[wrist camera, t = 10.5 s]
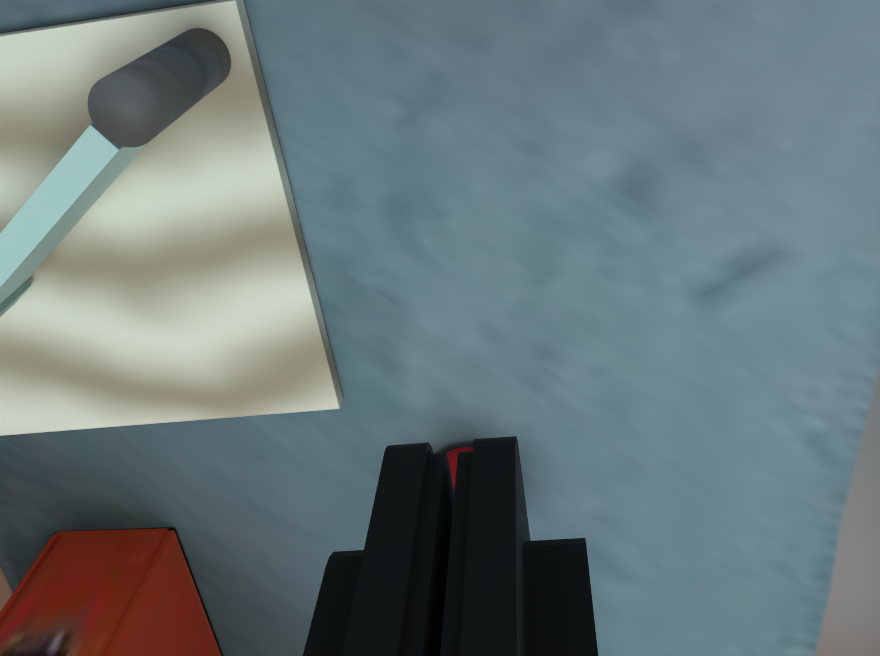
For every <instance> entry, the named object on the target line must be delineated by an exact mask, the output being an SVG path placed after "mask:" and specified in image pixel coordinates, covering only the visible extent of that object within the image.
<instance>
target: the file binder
mask: <svg viewBox="0 0 880 656" xmlns="http://www.w3.org/2000/svg"><path fill="white" fill-rule="evenodd" d="M0 656H221V653H220V651H219V648H218V645H217V643H216V640H215V637H214V635H213V632H212V629H211V627H210V624H209V621H208V619H207V616H206V613H205V611H204V608H203V605H202V603H201V600H200V598H199V595H198V592H197V590H196V587H195V584H194V582H193V579H192V576H191V574H190V571H189V568H188V566H187V563H186V560H185V558H184V555H183V552H182V550H181V547H180V544H179V542H178V539H177V536H176V534H175V531H174V530H171V531H169V529H168V528H156V529H124V530H91V531H59V532H57V533H56V535H52V537H51V538H50V540H49V541H48V543H47V544H46V546H45V547H44V549H43V550H42V552H41V553H40V554H39V556H38V557H37V559H36V560H35V562H34V563H33V565H32V566H31V568H30V569H29V571H28V572H27V574H26V575H25V576H24V578H23V579H22V581H21V582H20V584H19V585H18V587H17V588H16V590H15V591H14V593H13V594H12V596H11V597H10V599H9V600H8V601H7V603H6V604H5V606H4V607H3V609H2V610H1V612H0Z"/></svg>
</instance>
